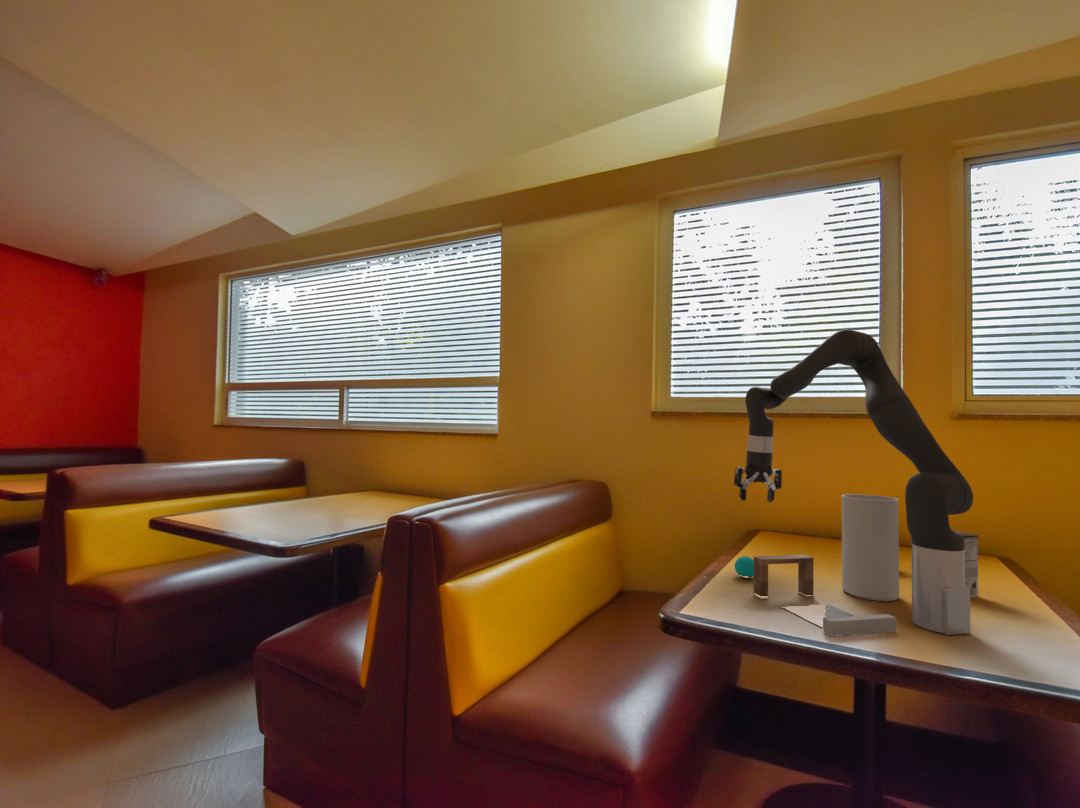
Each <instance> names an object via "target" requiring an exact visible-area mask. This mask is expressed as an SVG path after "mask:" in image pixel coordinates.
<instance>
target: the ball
mask: <svg viewBox="0 0 1080 808" xmlns="http://www.w3.org/2000/svg"><path fill="white" fill-rule="evenodd" d="M734 570H735V573H736V574H737V575H738V574H739V575H742V576H748V577H752V576H753V577H754V558H752V557H750V556H748V555H747V556H744V555H742V556H740V557H738V558H737V559H736V560H735V563H734ZM739 575H738V576H739ZM753 577H752V578H753Z"/></svg>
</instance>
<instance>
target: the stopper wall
mask: <svg viewBox="0 0 1080 808" xmlns="http://www.w3.org/2000/svg"><path fill="white" fill-rule="evenodd" d="M822 629H823V631H822V633H823V632H825V633H826V634H825V633H824V634H825V635H827V634H828V635H827V636H829V635H830V636H829V637H831V636H832V637H837V636H836V635H847V636H856V635H855V634H858V635H857V636H859V634H861V635H872V634H873V635H874V634H884V633H885V634H886V633H897V617H896V616H893V615H892V614H889V613H886V614H885V613H883V614H871V615H870V614H867V615H854V616H849V617H833V618H823V628H822Z"/></svg>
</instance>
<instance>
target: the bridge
mask: <svg viewBox="0 0 1080 808" xmlns="http://www.w3.org/2000/svg"><path fill="white" fill-rule="evenodd" d="M753 560H754V576H753V594H754V593H756V594H758V595H760V596H768V597H769V565H779V564H780V565H784V564H785V565H787V564H797V565H798V566H797V567H798V568H797V572H798V579H797V580H798V583H797V584H798V586H797V587H798V591H797V593H798V592H801V593H803V594H805V595H813V596H814V557H812V556H809V555H806V554H796V555H795V554H794V555H793V554H791V555H789V554H788V555H764V556H763V555H762V556H761V555H758V556H753Z"/></svg>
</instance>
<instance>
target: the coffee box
mask: <svg viewBox="0 0 1080 808" xmlns="http://www.w3.org/2000/svg"><path fill="white" fill-rule="evenodd" d="M952 531H954V532H955V533H958V534H960V535H961V536H963V538H964V545H965V549H964V550H965V586H966V587H969V588H970V599H971V598H972V597H973V598H978V597H979V535H978V534H973V533H969V532H963V531H959V530H953V529H952Z"/></svg>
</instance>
